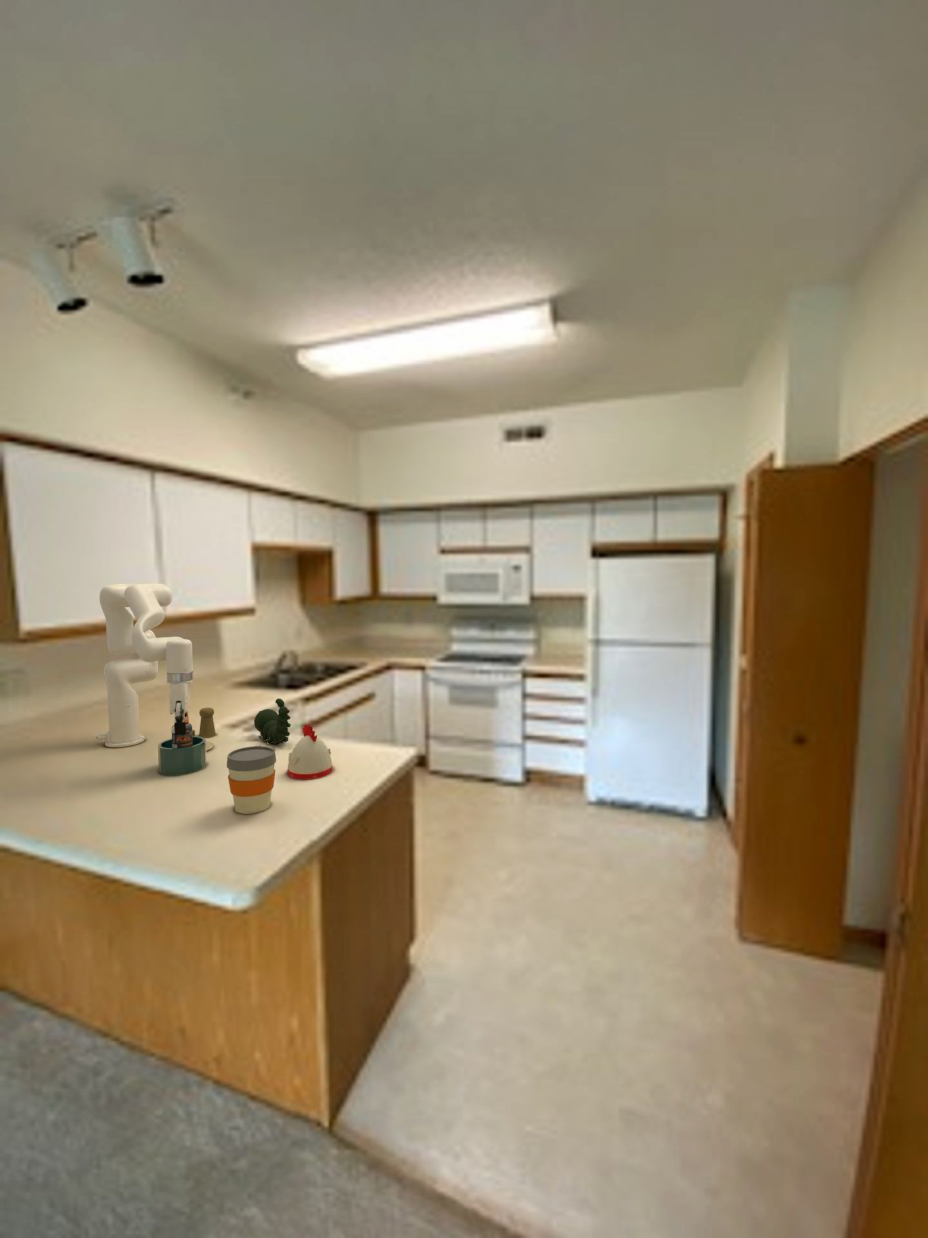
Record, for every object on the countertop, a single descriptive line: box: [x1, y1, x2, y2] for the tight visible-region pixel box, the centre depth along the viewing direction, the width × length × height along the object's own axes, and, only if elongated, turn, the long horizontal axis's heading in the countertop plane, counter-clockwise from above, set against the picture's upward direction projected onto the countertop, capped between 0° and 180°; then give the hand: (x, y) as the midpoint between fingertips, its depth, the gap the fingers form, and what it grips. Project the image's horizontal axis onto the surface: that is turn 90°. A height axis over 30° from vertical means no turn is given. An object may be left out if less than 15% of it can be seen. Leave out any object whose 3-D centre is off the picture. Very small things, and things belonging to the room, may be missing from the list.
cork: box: [198, 707, 217, 739], centre depth 207 cm, size 6×6×11 cm
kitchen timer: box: [287, 724, 333, 780], centre depth 170 cm, size 14×14×15 cm
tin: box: [157, 735, 207, 776], centre depth 172 cm, size 14×14×8 cm
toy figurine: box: [253, 698, 292, 745], centre depth 202 cm, size 9×19×25 cm
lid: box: [192, 729, 214, 752], centre depth 190 cm, size 15×15×7 cm
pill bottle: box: [171, 716, 193, 748], centre depth 172 cm, size 6×6×11 cm
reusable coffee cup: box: [226, 745, 277, 815], centre depth 144 cm, size 13×13×15 cm
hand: (181, 731), depth 172 cm, fingers closed on pill bottle, 6 cm apart
